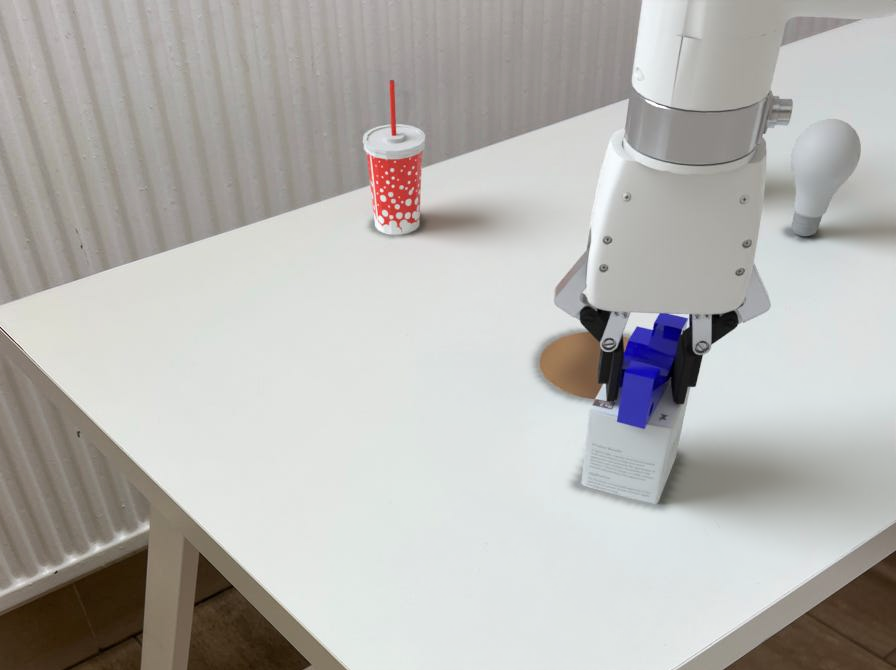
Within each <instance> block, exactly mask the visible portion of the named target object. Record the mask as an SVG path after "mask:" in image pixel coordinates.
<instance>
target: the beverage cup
mask: <svg viewBox="0 0 896 670" xmlns="http://www.w3.org/2000/svg"><path fill="white" fill-rule="evenodd" d="M388 84H389V85H388V86H389V106H390V108H389V109H390V110H389V111H390V124H384V125H378V126H376V127H373V128H371V129H369V130H367V131H366V132H365V133H364V134H363V136H362V144H363V150H364V151H365V153H366V161H367V168H368V175H369V178H368V179H369V185H370V193H371V194H370V195H371V201H372V210H373V218H374V226H375V229H377V231H378V232H381V233H383V234H386V235H391V236H402V235H407V234H410V233H412V232H414V231H416V230H417V229H418V228H419V227H420V219H421V218H420V216H421V215H420V214H421V190H422V167H423V165H422V164H423V150H425V149H426V147H425V146H426V134H425V133H424V131H423V130H422V129H421V128H418V127H416V126H413V125H408V124H402V123H399V124H398V123H397V116H396V114H397V113H396V92H395V91H396V90H395V87H396V86H395V80H394V79H390V80H389V82H388Z"/></svg>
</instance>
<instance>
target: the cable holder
mask: <svg viewBox="0 0 896 670" xmlns="http://www.w3.org/2000/svg"><path fill="white" fill-rule="evenodd" d="M688 323H689V317H685V316H680V315H677V314H666V313H658V316H657V317H656V319H655V321H654V322H653V327H652V329H650V328H647V327H642V326H638V325H637V326H636V327H635V328H634V330H633V332H632V333H631V335H630V336H629V337H628V338H629V340H628V343H627V346H626V349H625V352H624V361H623V367H622V373H621V380H620V386H619V387H622V392H621V398H620V405H619V411H618V417H617V422H619V423H623V424H627V425H631V426H634V427H638V428H642V429H645V428H646V426H647V424H648V422H649V420H650V418H651V416H652V415H653V413H654V411H655V409H656V407H657V405H658V403H659V402H660V400H661V398H662V396H663V394H664V392H665V390H666V389H667V387H668V385H669V383H670V381H671V374H672V369H673V364H674V359H675V354H676V349H677V344H678V339H679V335H680V334H682V333H683V330H685V329H687V326H688Z"/></svg>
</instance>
